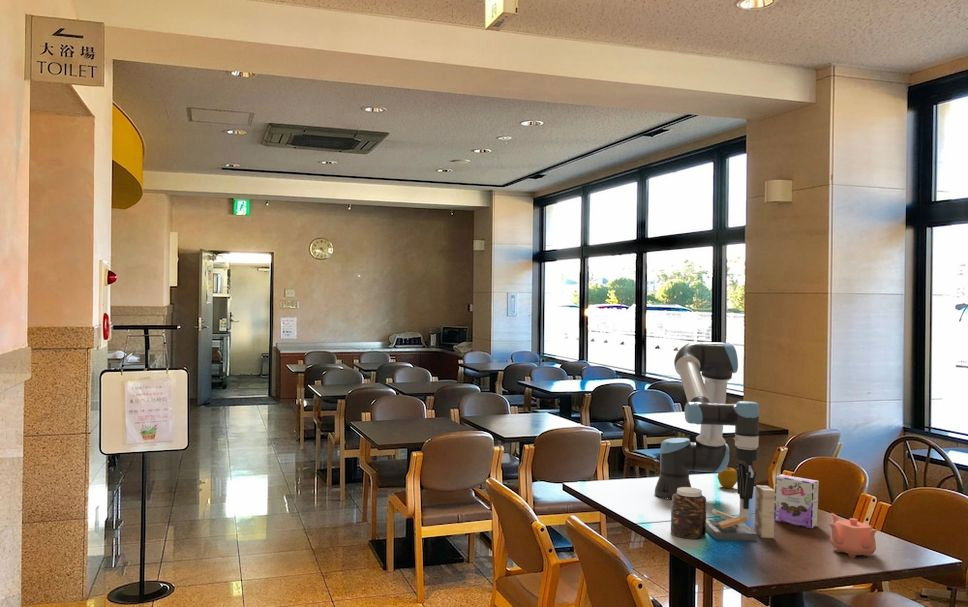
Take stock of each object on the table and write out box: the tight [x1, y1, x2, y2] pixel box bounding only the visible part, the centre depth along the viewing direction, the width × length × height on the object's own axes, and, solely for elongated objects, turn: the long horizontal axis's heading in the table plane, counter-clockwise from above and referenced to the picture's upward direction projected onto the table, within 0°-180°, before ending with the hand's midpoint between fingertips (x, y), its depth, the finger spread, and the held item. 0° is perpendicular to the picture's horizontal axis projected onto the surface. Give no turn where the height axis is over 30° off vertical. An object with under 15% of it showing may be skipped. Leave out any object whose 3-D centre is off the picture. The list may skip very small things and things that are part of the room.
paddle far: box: [711, 508, 735, 520], centre depth 266 cm, size 3×9×1 cm, turn 91°
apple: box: [717, 466, 737, 489], centre depth 332 cm, size 8×8×9 cm
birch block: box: [753, 484, 775, 539], centre depth 262 cm, size 7×4×16 cm, turn 0°
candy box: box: [774, 474, 820, 529], centre depth 279 cm, size 14×6×16 cm, turn 47°
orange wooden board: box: [718, 515, 748, 529], centre depth 259 cm, size 3×9×1 cm, turn 91°
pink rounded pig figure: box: [827, 512, 879, 558], centre depth 245 cm, size 14×14×11 cm
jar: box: [670, 486, 707, 540], centre depth 260 cm, size 12×12×15 cm
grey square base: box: [706, 518, 758, 542], centre depth 262 cm, size 15×14×4 cm
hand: (744, 517), depth 259 cm, fingers closed
